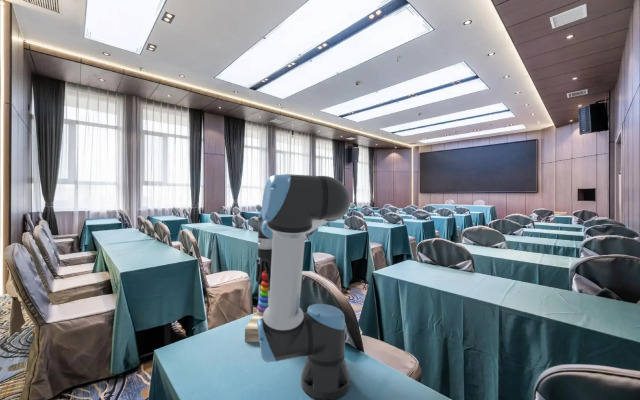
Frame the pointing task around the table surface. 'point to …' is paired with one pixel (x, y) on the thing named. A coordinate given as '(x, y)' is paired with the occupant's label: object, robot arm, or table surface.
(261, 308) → the stacking toy
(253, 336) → the plinth
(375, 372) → the table surface
